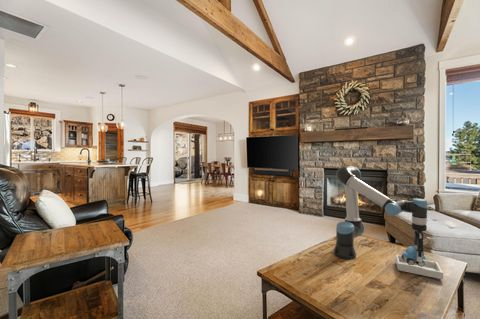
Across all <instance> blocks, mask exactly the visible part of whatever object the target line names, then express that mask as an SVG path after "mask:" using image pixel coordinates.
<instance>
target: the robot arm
mask: <svg viewBox="0 0 480 319" xmlns="http://www.w3.org/2000/svg"><path fill="white" fill-rule="evenodd" d="M360 170H361V169H359V168H358V167H356V166H352V165H351V166H350V165H348V166H343V167H342V166H341V167H339V168H338V169H337V170H336V173H335V176H336V179H337V180H338V182H340V183H342V185H343V186H344V194H345V207H346V216H345V218H344V221H339V222H338V223H337V224H336V228H335V229H336V231H335V232H336V233H335V234H336V237H335V242H336V243H335V246H334V248H333V255H334V257H336V258H339V259H342V260H351V261H352V260H354V259H356V258H357V253H356V250H355V246H354V243H355V242H354V240H355V239H356V238H357V237H361V236H362V235H363V234H364V232H365V225H364V223H363V221H362V218H360V211H359V196H358V195H359V194H361V195H362V196H364V197H365V198H367V199H369V200H370V201H372V202H373V203H375V204H376V205H378V206H379V207H381V209H384V211H385V212H386V214H387V215H389V216H397V215H399V214H401V213H410V214H411V229H412V230H414V236H413V237H414V238H413V243H414V245H413V246H414V247H416V248H417V250H416V251H417V260H416V261H418V262H422V252H424V245H423V240H424V233H423V232H426V231H427V229H428V228H427V223H428V221H429V219H428V201H427V200H426V199H423V198H417V197H416V198H412V200H406V199H401V198H400V199H399V198H397V199H396V198H392V199H391V198H390V197H388V196H387V195H385V194H383V193H382V192H380V191H378V190H377V189H375V188H374V187H372V186H370V185H368V183H366V182H364V181H362V180H360V179H361V177H362V172H361V171H360ZM358 193H359V194H358ZM419 249H420V250H419Z"/></svg>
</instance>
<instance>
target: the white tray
mask: <svg viewBox="0 0 480 319" xmlns="http://www.w3.org/2000/svg"><path fill="white" fill-rule="evenodd" d="M395 255H396V256H395V262H396V268H397V270H398V273H403V272H407V273H410V274H411V273H412V274H414V275H415V274H416V275H421V276H425V277H430V278H435V279H436V281H438V282H439V281H441V280H444V272H443V270H442V268H441V266H440V264H439V263H438V261H432V260H427V259H425V260H423V261H424V262H425V263H424V264H425V265H424V266H423V267H421V266H418V265H417V264H414V265H409V264H408V263H407V262H406V261H404V260H403V259H402V255H400V254H395Z"/></svg>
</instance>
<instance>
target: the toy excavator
mask: <svg viewBox="0 0 480 319" xmlns="http://www.w3.org/2000/svg"><path fill="white" fill-rule="evenodd" d="M427 244H428V245H429V246H431V247H433V246H434V245H435V240H434V239H433V238H431V237H430V236H426V237H425V239H423V246H425V245H427ZM416 250H417V248H416V247H414V245H413V246H412V245H410V246H408V247H406V250H405V251H403V252H402V255H401V256H402V259H403V260H404V261H406V262H407V263H408V264H409V265H414V264H417V265H418V266H421V267H423V266H424V265H425V264H424V263H425V262H424V261H423V260H426V256H425V252H424V251H423V252H422V262H418V261H416V260H417V251H416ZM419 250H420V249H419Z"/></svg>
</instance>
